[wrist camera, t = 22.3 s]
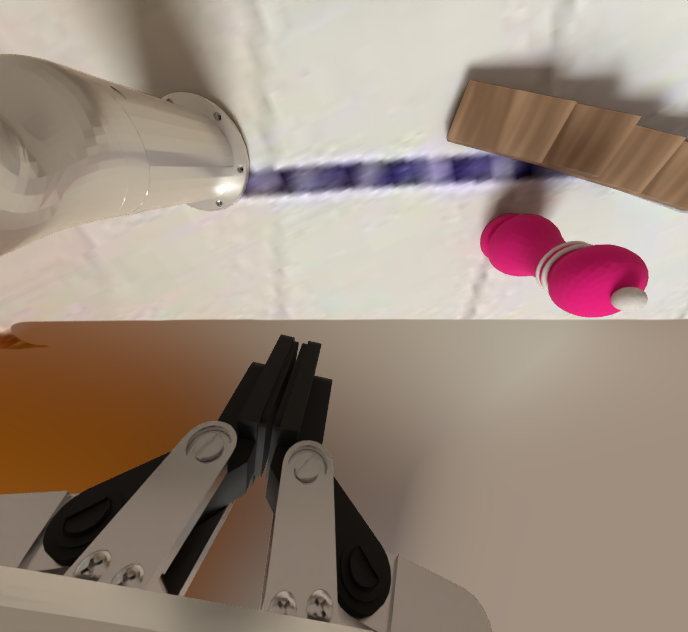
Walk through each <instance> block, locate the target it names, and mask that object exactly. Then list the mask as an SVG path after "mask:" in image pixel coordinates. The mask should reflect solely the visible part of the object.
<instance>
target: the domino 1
mask: <svg viewBox="0 0 688 632" xmlns="http://www.w3.org/2000/svg"><path fill="white" fill-rule="evenodd" d="M576 103H577V101H572V100H567V99H562V98H557V97H552V96H547V95H542V94H537V93H532V92H527V91H522V90H517V89H513V88H508V87H503V86H498V85H493V84H488V83H483V82H478V81H473V80H469V82H468V85H467V87H466V90H465V92H464V95H463V97H462V100H461V102H460V105H459V108H458V110H457V113H456V115H455V118H454V120H453V123H452V125H451V128H450V130H449V133H448V135H447V140H448V141H449V142H452V143H456V144H460V145H464V146H467V147H471V148H475V149H479V150H483V151H486V152H490V153H494V154H498V155H501V156H505V157H509V158H513V159H516V160H520V161H524V162H528V163H531V164H535V165H538V164H540V163H542V161H543V160H544V158H545V156H546V154H547V153H548V151H549V149H550V148H551V146H552V144H553V142H554V141H555V139H556V137H557V135H558V134H559V132H560V130H561V129H562V127H563V125H564V123H565V122H566V120H567V118H568V116H569V115H570V113H571V111H572V109H573V108H574V106H575V104H576Z"/></svg>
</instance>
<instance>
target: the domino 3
mask: <svg viewBox="0 0 688 632" xmlns="http://www.w3.org/2000/svg"><path fill="white" fill-rule="evenodd" d="M685 139H686V137H682V136H678V135H674V134H670V133H666V132H662V131H658V130H654V129H650V128H646V127H643V126H639V125H636V126H635V127H634V128H633V130H632V131H631V133H630V134H629V136H628V137H627V138H626V140H625V141H624V143H623V144H622V145H621V147H620V148H619V150H618V151H617V153H616V154H615V155H614V157H613V158H612V160H611V161H610V162H609V164H608V165H607V167H606V168H605V170H604V171H603V172H602V174H601V175H600V176H598V177H594V178H591V177H587V176H584V175H580V174H576V173H573V172H569V171H565V170H561V169H558V168H554V167H550V166H546V165H543V164H538V166H541V167H544V168H547V169H551V170H554V171H557V172H561V173H564V174H567V175H570V176H574V177H577V178H580V179H584V180H587V181H590V182H593V183H597V184H600V185H603V186H607V187H610V188H613V189H616V190H620V191H623V192H626V193H630V194H634V193H641V192H642V191H643V190H644V189H645V187H646V186H647V185H648V184H649V183H650V181H651V180H652V179H653V178H654V177H655V175H656V174H657V173H658V172H659V170H660V169H661V168H662V167H663V166H664V164H665V163H666V162H667V161H668V160H669V158H670V157H671V156H672V155H673V154H674V152H675V151H676V150H677V149H678V148H679V146H680V145H681V144H682V143H683V142H684V140H685Z"/></svg>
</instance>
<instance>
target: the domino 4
mask: <svg viewBox="0 0 688 632" xmlns="http://www.w3.org/2000/svg"><path fill="white" fill-rule="evenodd" d="M629 194H630V193H629ZM632 195H635V196H638V197H641V198H644V199H648V200H651V201H654V202H657V203H660V204H663V205H666V206H669V207H672V208H675V209H678V210H681V211H688V142H686V141H684V142H683V143H682V144H681V145H680V146H679V148H678V149H677V150H676V151H675V152H674V154H673V155H672V156H671V157H670V158H669V160H668V161H667V162H666V163H665V164H664V166H663V167H662V168H661V169H660V170H659V172H658V173H657V174H656V175H655V177H654V178H653V179H652V180H651V181H650V183H649V184H648V185H647V186H646V187H645V189H644V190H643V191H642V192H641V193H634V194H632Z"/></svg>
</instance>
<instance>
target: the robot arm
mask: <svg viewBox="0 0 688 632" xmlns="http://www.w3.org/2000/svg"><path fill="white" fill-rule="evenodd" d="M220 115H221V120H220V118H219V117H220ZM242 167H243V169H244V171H242V169H241V168H242ZM248 178H249V158H248V153H247V149H246V145H245V143H244V141H243V138H242V136H241V134H240V132H239V130H238V128H237V127H236V125H235V123H234V122H233V121H232V120H231V118H230V117H229V116H228V115H227V114H226V113H225V112H224V111H223V110H222V109H221V108H220V107H219V106H218V105H216V104H215V103H213V102H211V101H210V100H208V99H206V98H204V97H202V96H200V95H197V94H193V93H190V92H174V93H170V94H167V95H166V96H164V97H162V98H161V99H160V98H157V97H154V96H151V95H148V94H145V93H142V92H139V91H136V90H133V89H130V88H127V87H125V86H122V85H119V84H116V83H113V82H110V81H107V80H104V79H101V78H98V77H95V76H92V75H89V74H86V73H84V72H81V71H78V70H75V69H72V68H69V67H67V66H64V65H61V64H57V63H54V62H51V61H48V60H45V59H41V58H36V57H32V56H25V55H16V54H0V257H1V256H3V255H5V254H8V253H10V252H12V251H14V250H16V249H19V248H21V247H23V246H25V245H27V244H29V243H31V242H33V241H36V240H38V239H40V238H43V237H45V236H47V235H50V234H52V233H55V232H58V231H61V230H64V229H67V228H70V227H74V226H78V225H81V224H85V223H90V222H94V221H99V220H103V219H108V218H114V217H119V216H124V215H130V214H135V213H140V212H145V211H150V210H156V209H161V208H166V207H171V206H176V205H182V204H187V205H189V206H190V207H193V208H196V209H198V210H203V211H218V210H222V209H225V208H228V207H230V206H232V205H233V204H234V203H236V202H237V201H238V200H239V198H240V197H241V196H242V195H243V193H244V191H245V189H246V186H247V182H248ZM221 202H222V204H221ZM294 340H295V338H294V337H289V336H286V335H281V336H280V337H279V339H278V341H277V343H276V345H275V347H274V349H273V351H272V353H271V355H270V357H269V359H268V361H267V363H266V364H260V363H256V362H253V363H252V364H251V365H250V367H249V368H248V370H247V372H246V374H245V375H244V377H243V379H242V381H241V382H240V384H239V385H238V387H237V389H236V390H235V393H234V394H233V396H232V397H231V399H230V401H229V402H228V404H227V406H226V407H225V409H224V411H223V413H222V414H221V416H220V418H219V419H218V421H210V422H206V423H203V424H200V425H198V426H197V427H195V428H193V429H192V430H191V431H190V432H189V433H188V434H187V435H185V437H184V438H183V439H182V440H181V441H180V442H179V444H178V445H177V446H176V447H175V448H174V449H173V450H172V451H171V452H169V453H167V454H164V455H162V456H160V457H158V458H155V459H153V460H151V461H149V462H147V463H145V464H142V465H140V466H138V467H136V468H134V469H131V470H129V471H127V472H125V473H122V474H120V475H118V476H116V477H114V478H111V479H109V480H107V481H105V482H102V483H100V484H98V485H96V486H94V487H92V488H89V489H87V490H85V491H84V492H82V493H80V494H70V493H69V492H68V491H58V492H40V493H25V494H24V493H23V494H6V495H0V632H492V629H491V625H490V621H489V619H488V618H487V615H486V613H485V611H484V609H483V607H482V605H481V604H480V603H479V601H478V600H477V599H476V598H475V596H474V595H472V594H471V593H470V592H468V591H467V590H466V589H465V588H463V587H461V586H459V585H457V584H455V583H453V582H451V581H449V580H447V579H445V578H443V577H441V576H440V575H438V574H436V573H433V572H432V571H430V570H428V569H426V568H424V567H422V566H420V565H418V564H416V563H414V562H412V561H410V560H408V559H406V558H405V557H403V556H401V555H398V556H397V557H396V556H394V555H392V554H390V553H388V552H386V551H385V550H384V549H383V547H382V545H381V544H380V542H379V541H378V540H377V538H376V537H375V536H374V534H373V532H372V531H371V529H370V528H369V526H368V525H367V524H366V522H365V521H364V519H363V518H362V516H361V515H360V514H359V512H358V511H357V509H356V508H355V506H354V505H353V504H352V502H351V501H350V499H349V498H348V496H347V495H346V493H345V492H344V491H343V489H342V488H341V486H340V485H339V483H338V482H337V480H336V479H335V477H334V476H333V462H332V457H331V455H330V453H329V451H328V450H327V449H326V448H325V447H324V446H323V445H322V442H323V436H324V430H325V423H326V417H327V410H328V404H329V398H330V392H331V386H332V380H331V379H327V378H323V377H318V376H314V375H315V370H316V366H317V361H318V357H319V353H320V348H321V344H320V343H316V342H311V341H308V344H304V343H303V344H302V346H301V349H300V352H299V355H298V357H297V350H298V345H299V343H298V342H295V341H294ZM296 357H297V360H296ZM268 456H269V458H268ZM267 459H268V465H267V473H266V479H268V485H267V492H266V499H267V501H268V503H269V505H270V507H271V509H272V511H273V519H272V526H271V533H270V540H269V547H268V555H267V562H266V569H265V576H264V583H263V591H262V598H261V605H260V610H256V609H250V608H245V607H239V606H233V605H228V604H222V603H216V602H211V601H204V600H199V599H193V598H188V597H183V596H184V595H185V593H186V590H187V589H188V587H189V585H190V583H191V581H192V580H193V578H194V576H195V574H196V572H197V570H198V568H199V567H200V565H201V563H202V561H203V559H204V558H205V556H206V554H207V552H208V550H209V548H210V546H211V545H212V543H213V541H214V539H215V537H216V535H217V533H218V532H219V530H220V528H221V526H222V524H223V522H224V521H225V519H226V517H227V515H228V513H229V511H230V509H231V508H232V506H233V503H234V501H235V500H236V499H237V498H239V497H241V496H242V495H243V494H245V493H246V491H247V488H248V486H252V485H253V482H254V479H255V477H261V476H262V474H263V471H264V468H265V465H266V462H267Z"/></svg>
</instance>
